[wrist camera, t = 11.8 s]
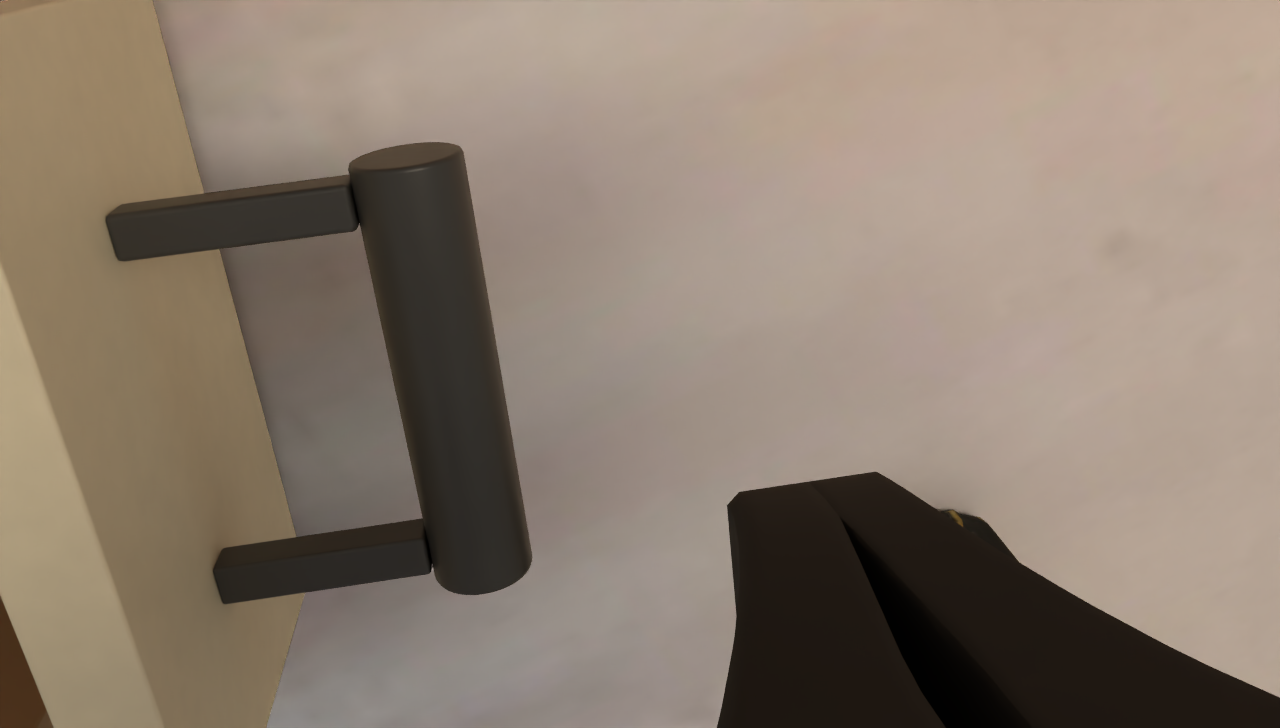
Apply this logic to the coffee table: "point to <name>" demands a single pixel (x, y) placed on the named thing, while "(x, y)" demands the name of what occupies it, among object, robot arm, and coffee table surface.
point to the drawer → (202, 392)
